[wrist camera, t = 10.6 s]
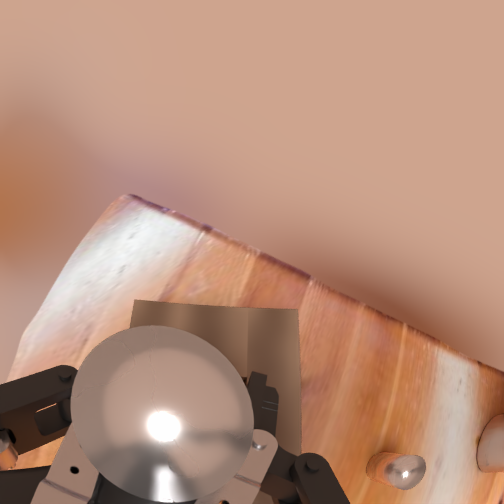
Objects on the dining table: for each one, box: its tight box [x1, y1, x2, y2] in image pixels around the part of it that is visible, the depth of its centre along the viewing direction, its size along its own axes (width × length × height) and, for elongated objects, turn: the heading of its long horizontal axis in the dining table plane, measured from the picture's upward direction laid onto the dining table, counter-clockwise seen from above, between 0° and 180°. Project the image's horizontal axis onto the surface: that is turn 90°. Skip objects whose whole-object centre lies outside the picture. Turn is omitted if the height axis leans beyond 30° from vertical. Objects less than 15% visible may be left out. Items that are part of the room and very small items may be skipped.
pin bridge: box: [130, 300, 301, 504], centre depth 21 cm, size 13×16×8 cm
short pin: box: [366, 452, 426, 490], centre depth 18 cm, size 4×4×6 cm
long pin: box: [71, 325, 254, 502], centre depth 11 cm, size 4×4×16 cm
